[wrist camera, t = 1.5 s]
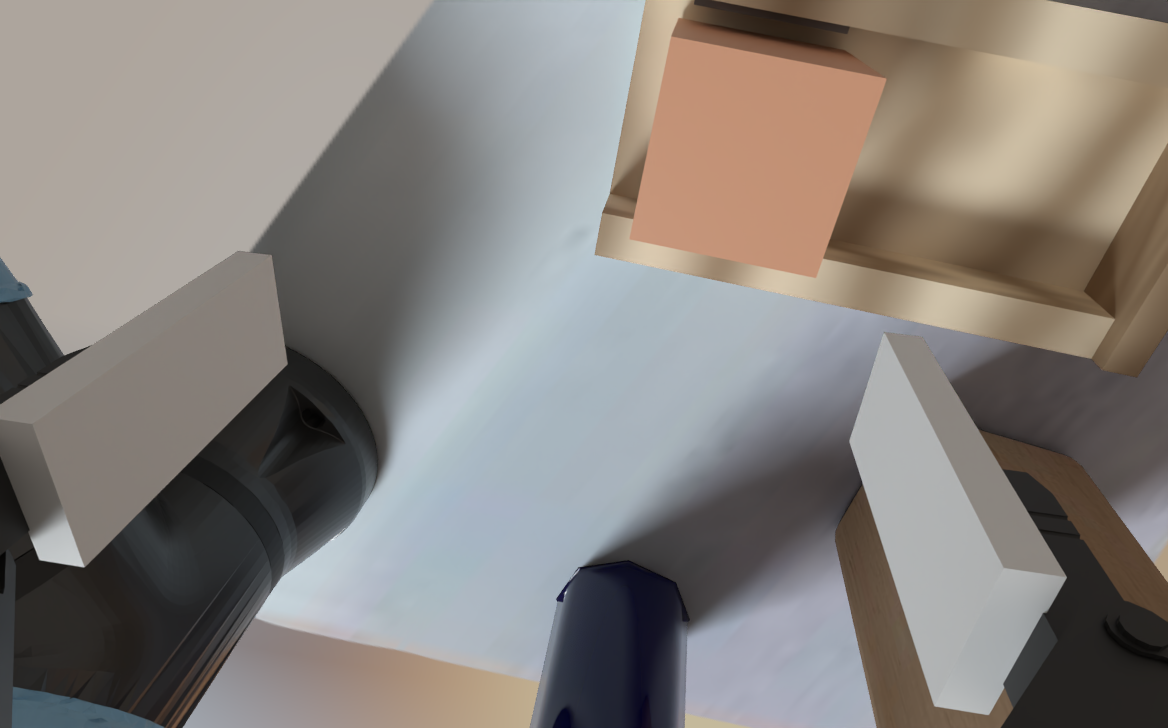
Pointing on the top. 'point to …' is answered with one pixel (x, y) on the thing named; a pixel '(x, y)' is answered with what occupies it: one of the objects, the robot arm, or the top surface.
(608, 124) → the top surface
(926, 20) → the wooden tray
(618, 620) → the bottle
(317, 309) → the top surface
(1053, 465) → the wooden block
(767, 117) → the terracotta block
